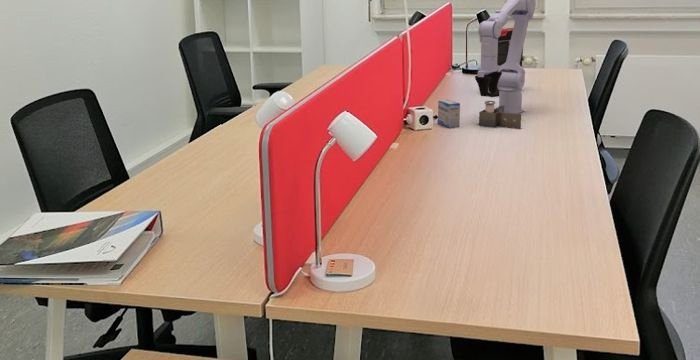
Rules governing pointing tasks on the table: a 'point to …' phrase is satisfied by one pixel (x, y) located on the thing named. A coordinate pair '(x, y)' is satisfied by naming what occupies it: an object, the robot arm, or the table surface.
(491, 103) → the grey metal cylinder
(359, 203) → the table surface
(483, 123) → the dark brown block
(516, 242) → the table surface
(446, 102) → the medicine box
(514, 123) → the brown open box
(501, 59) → the graphics card box
